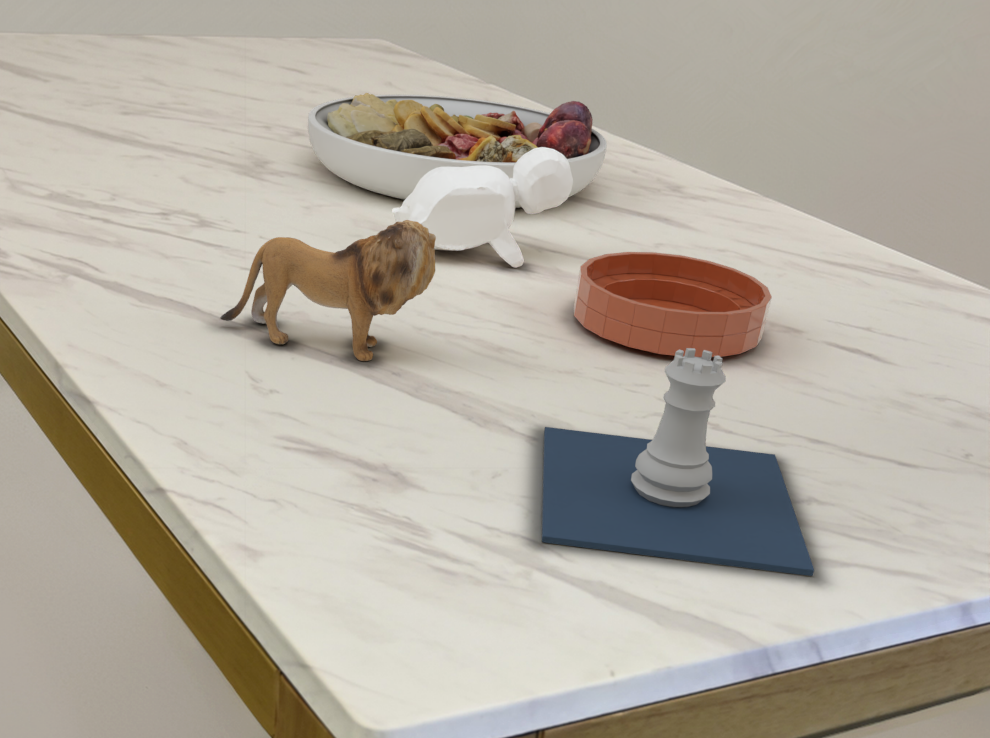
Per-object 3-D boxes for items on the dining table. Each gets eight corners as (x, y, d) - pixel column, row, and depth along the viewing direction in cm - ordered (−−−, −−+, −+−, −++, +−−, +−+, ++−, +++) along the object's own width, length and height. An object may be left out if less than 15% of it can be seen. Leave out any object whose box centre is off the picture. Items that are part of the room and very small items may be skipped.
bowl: (333, 215, 114) (339, 124, 110) (286, 136, 139) (289, 59, 134) (643, 222, 121) (659, 136, 116) (545, 145, 145) (555, 72, 141)
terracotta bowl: (746, 307, 101) (757, 263, 99) (771, 372, 89) (784, 323, 88) (572, 288, 102) (579, 243, 100) (573, 349, 90) (582, 300, 88)
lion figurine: (432, 343, 89) (445, 215, 84) (419, 371, 85) (433, 237, 80) (230, 314, 91) (232, 187, 86) (208, 340, 86) (208, 206, 81)
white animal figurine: (425, 301, 106) (596, 240, 105) (395, 204, 101) (574, 139, 100) (408, 268, 113) (568, 211, 112) (380, 176, 108) (547, 116, 107)
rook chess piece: (624, 470, 73) (650, 338, 69) (700, 477, 73) (732, 345, 69) (634, 506, 69) (663, 369, 65) (715, 513, 69) (749, 376, 65)
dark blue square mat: (773, 460, 77) (775, 454, 77) (812, 576, 65) (814, 569, 65) (544, 432, 78) (545, 426, 78) (541, 542, 66) (542, 536, 66)
